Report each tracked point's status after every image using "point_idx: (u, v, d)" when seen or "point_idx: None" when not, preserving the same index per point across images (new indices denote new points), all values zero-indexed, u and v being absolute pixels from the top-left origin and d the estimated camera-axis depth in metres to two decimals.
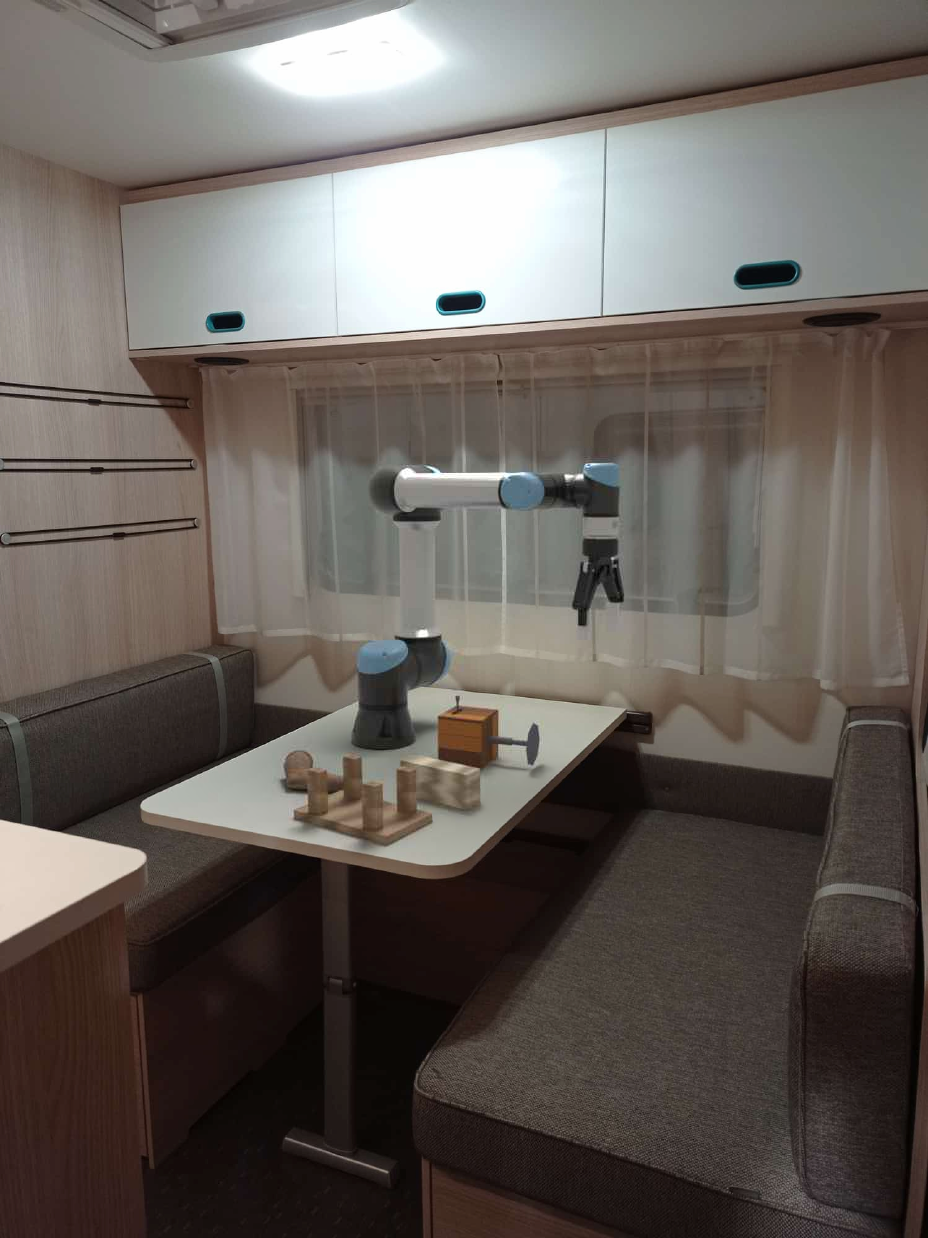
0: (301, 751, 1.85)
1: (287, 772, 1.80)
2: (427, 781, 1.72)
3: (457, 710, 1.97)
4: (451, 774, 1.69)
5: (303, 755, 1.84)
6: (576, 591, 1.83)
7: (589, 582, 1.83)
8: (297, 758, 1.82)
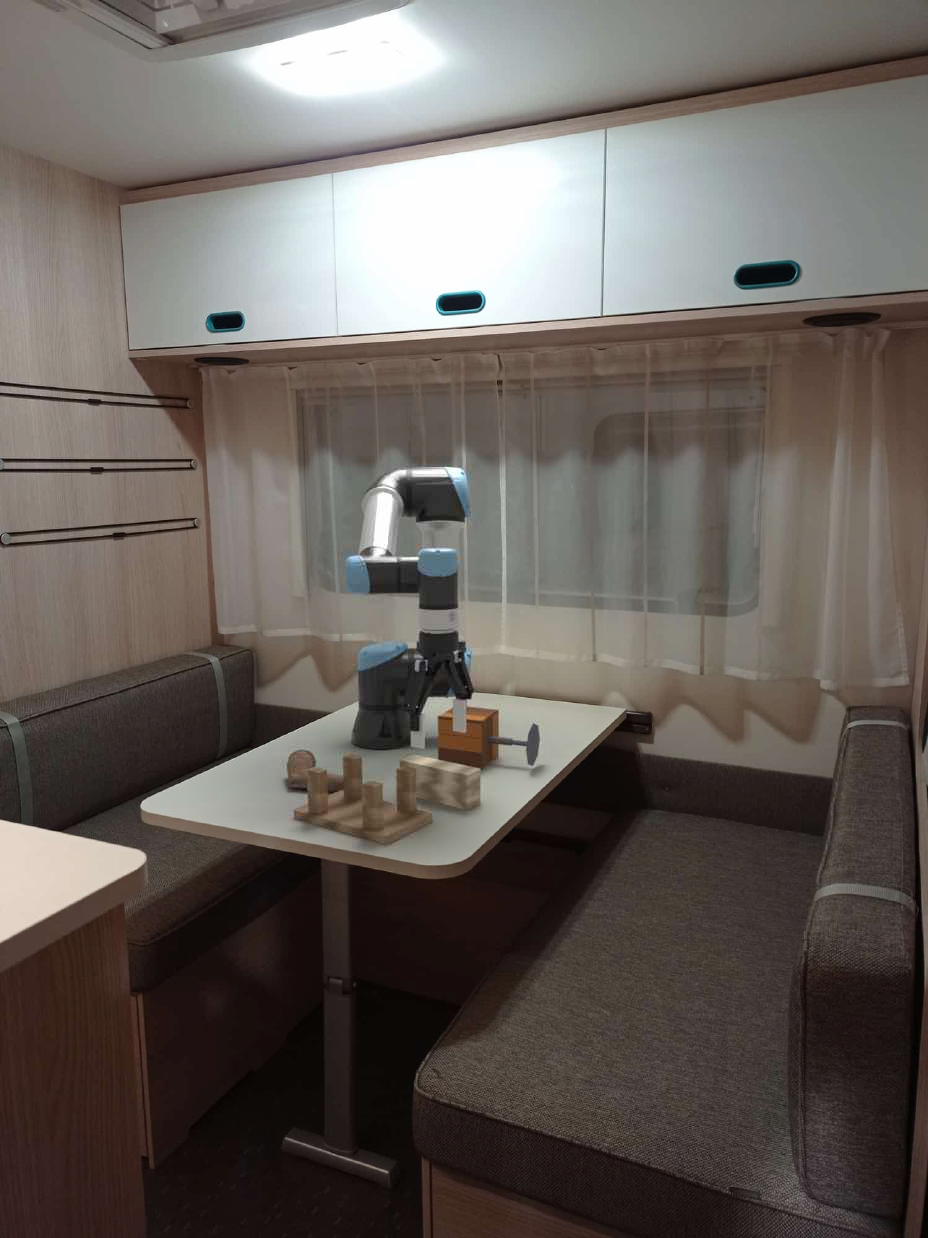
0: (304, 750, 1.85)
1: (289, 771, 1.81)
2: (428, 781, 1.72)
3: None
4: (451, 774, 1.69)
5: (306, 755, 1.84)
6: (406, 693, 1.64)
7: (421, 683, 1.64)
8: (299, 758, 1.83)
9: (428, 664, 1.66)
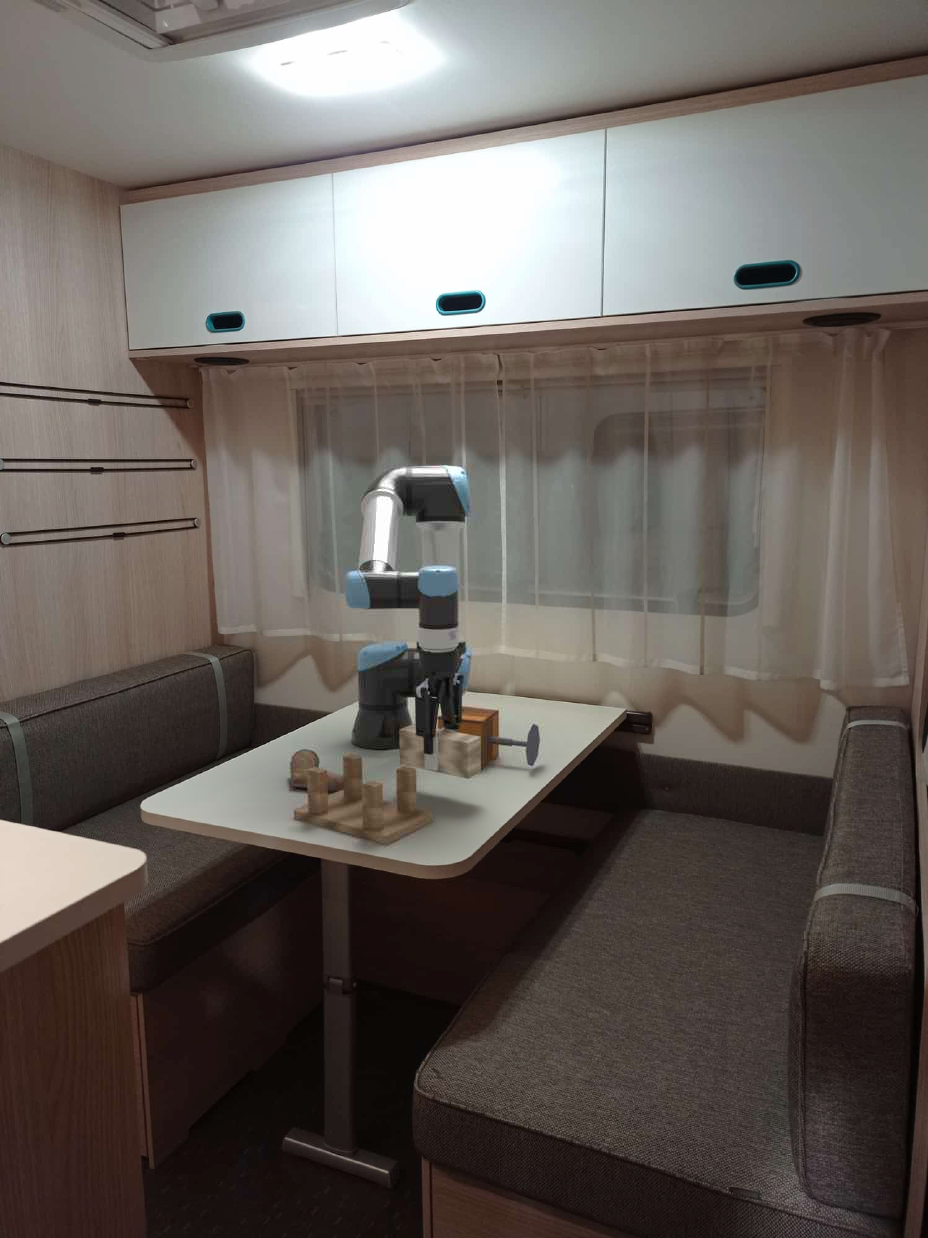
0: (307, 750, 1.85)
1: (292, 771, 1.81)
2: None
3: None
4: (452, 743, 1.69)
5: (309, 754, 1.84)
6: (416, 719, 1.68)
7: (427, 708, 1.67)
8: (302, 757, 1.83)
9: (429, 685, 1.67)
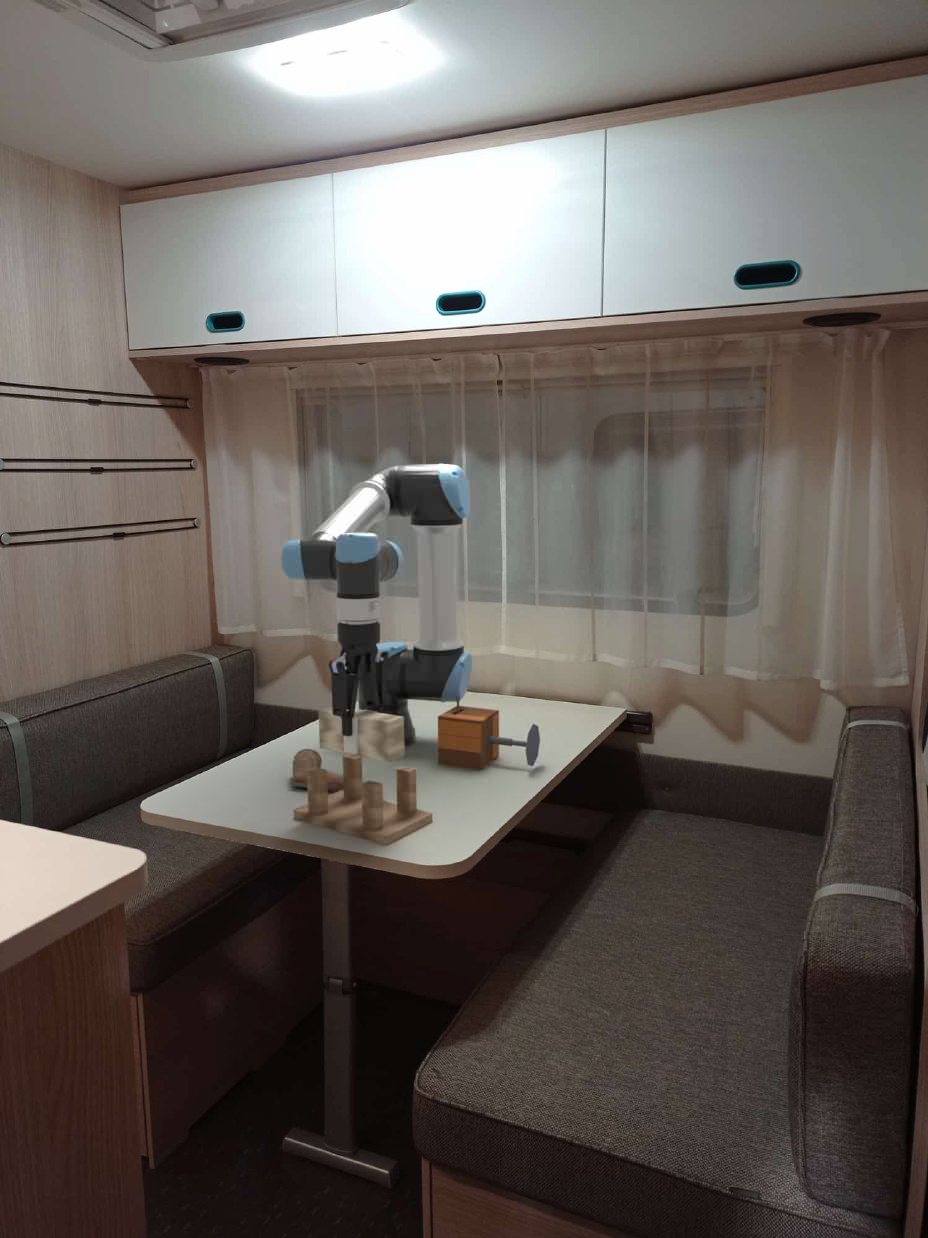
0: (310, 750, 1.86)
1: (294, 770, 1.81)
2: None
3: (457, 710, 1.97)
4: (372, 722, 1.56)
5: (311, 754, 1.84)
6: (333, 697, 1.55)
7: (344, 684, 1.54)
8: (304, 757, 1.83)
9: (346, 660, 1.55)
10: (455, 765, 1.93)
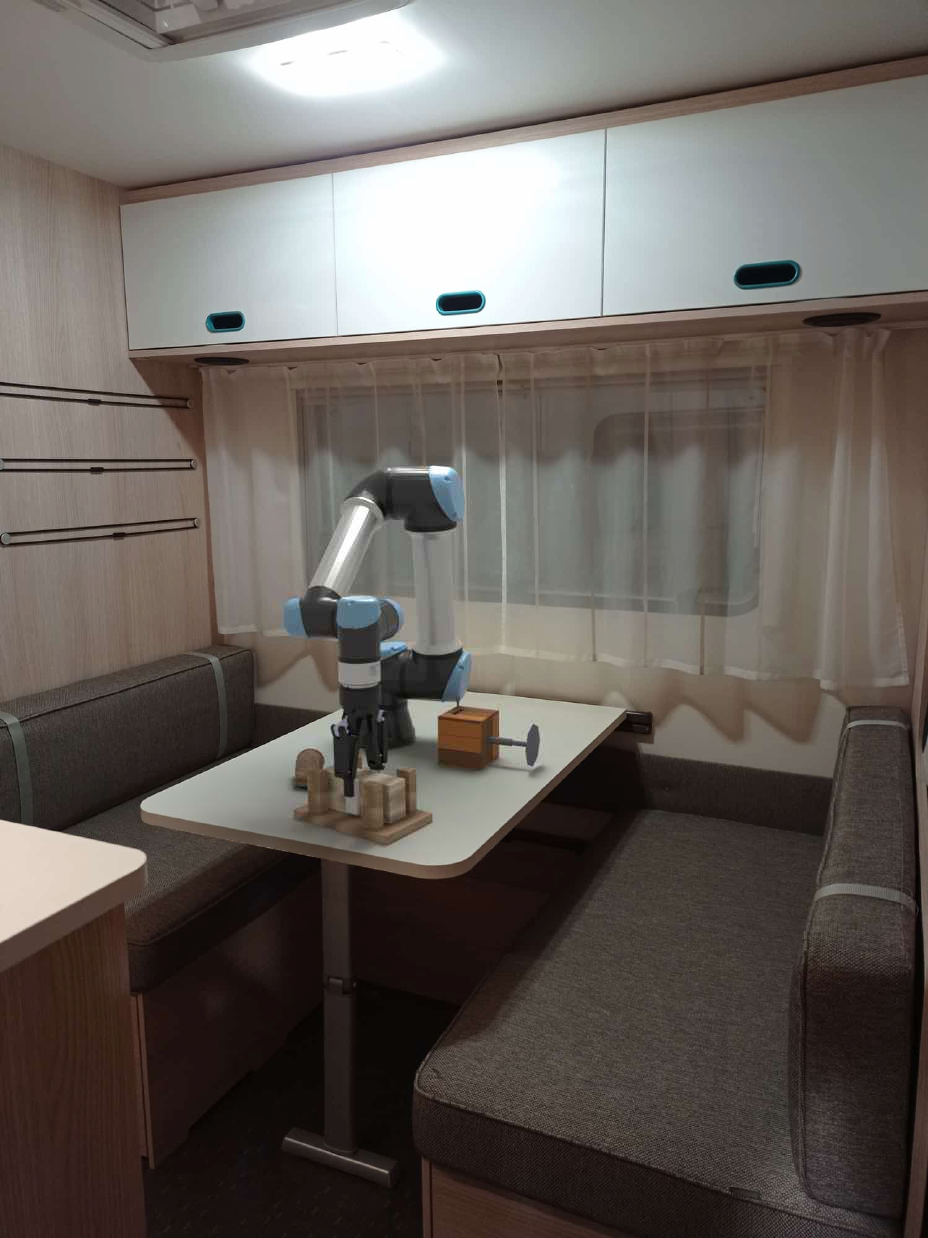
0: (312, 749, 1.86)
1: (296, 770, 1.82)
2: None
3: (457, 710, 1.97)
4: None
5: (314, 753, 1.85)
6: (335, 760, 1.57)
7: (346, 748, 1.56)
8: (307, 756, 1.83)
9: (348, 723, 1.57)
10: (455, 765, 1.93)
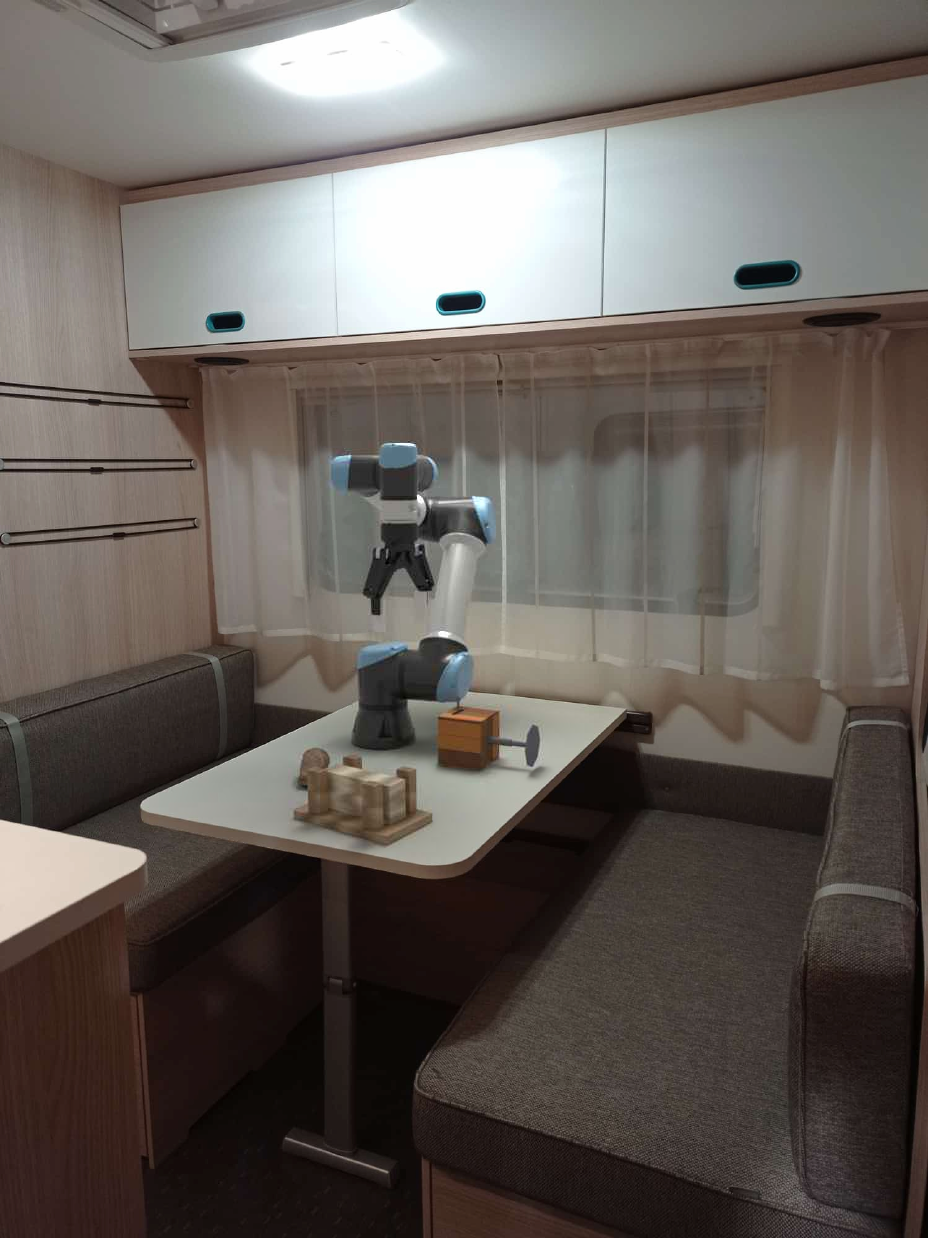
0: (318, 749, 1.86)
1: (300, 769, 1.82)
2: (350, 793, 1.61)
3: (457, 710, 1.97)
4: None
5: (319, 753, 1.85)
6: (368, 578, 1.74)
7: (381, 569, 1.74)
8: (311, 756, 1.84)
9: (389, 552, 1.76)
10: (455, 765, 1.93)
